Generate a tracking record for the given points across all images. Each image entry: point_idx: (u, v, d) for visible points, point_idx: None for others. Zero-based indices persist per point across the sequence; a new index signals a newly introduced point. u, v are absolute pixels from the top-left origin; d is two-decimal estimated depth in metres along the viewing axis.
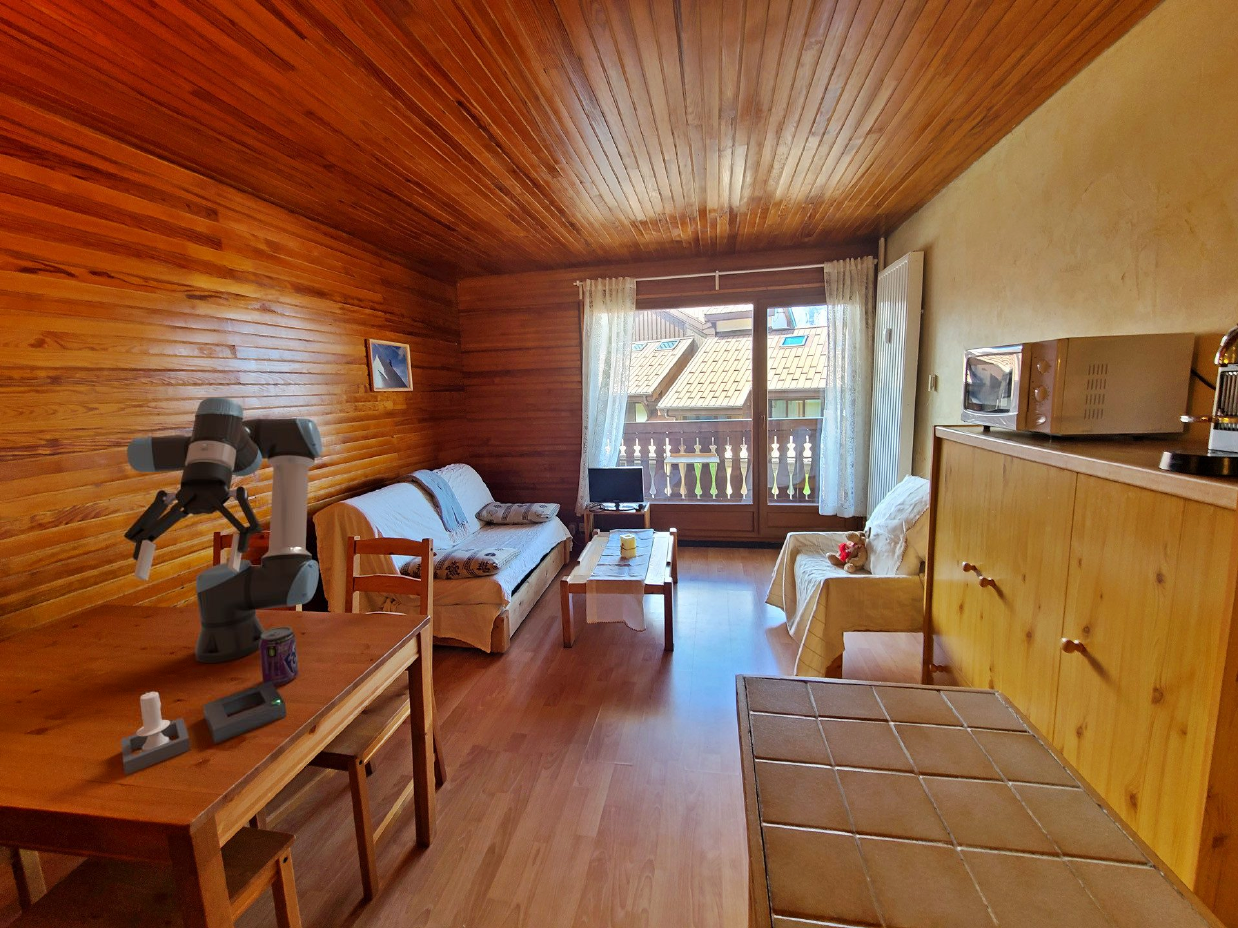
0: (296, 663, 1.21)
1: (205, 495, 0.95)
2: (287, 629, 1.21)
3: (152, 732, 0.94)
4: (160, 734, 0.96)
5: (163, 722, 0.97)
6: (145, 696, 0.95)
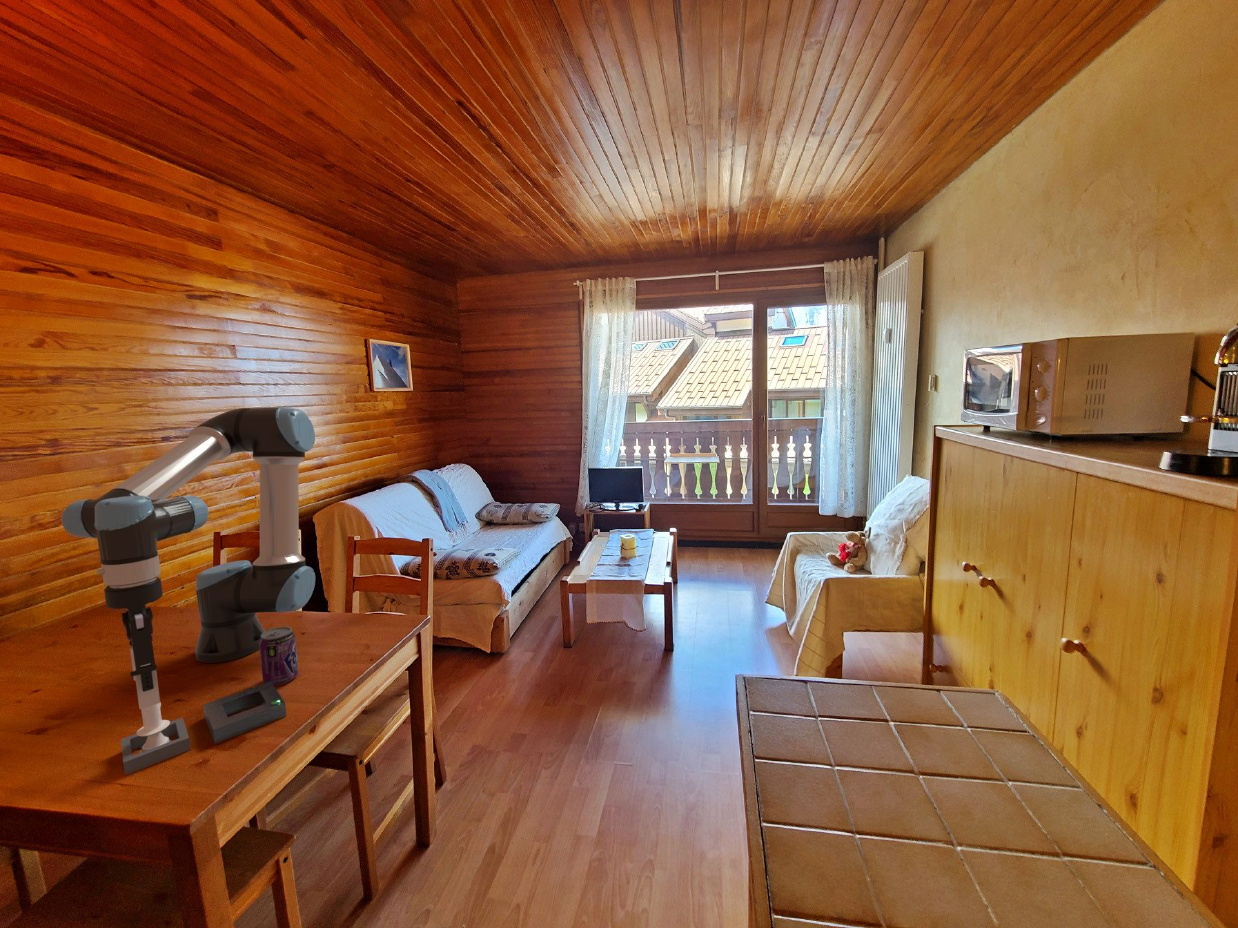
0: (296, 663, 1.21)
1: None
2: (287, 629, 1.21)
3: (152, 732, 0.94)
4: (160, 734, 0.96)
5: (163, 722, 0.97)
6: None
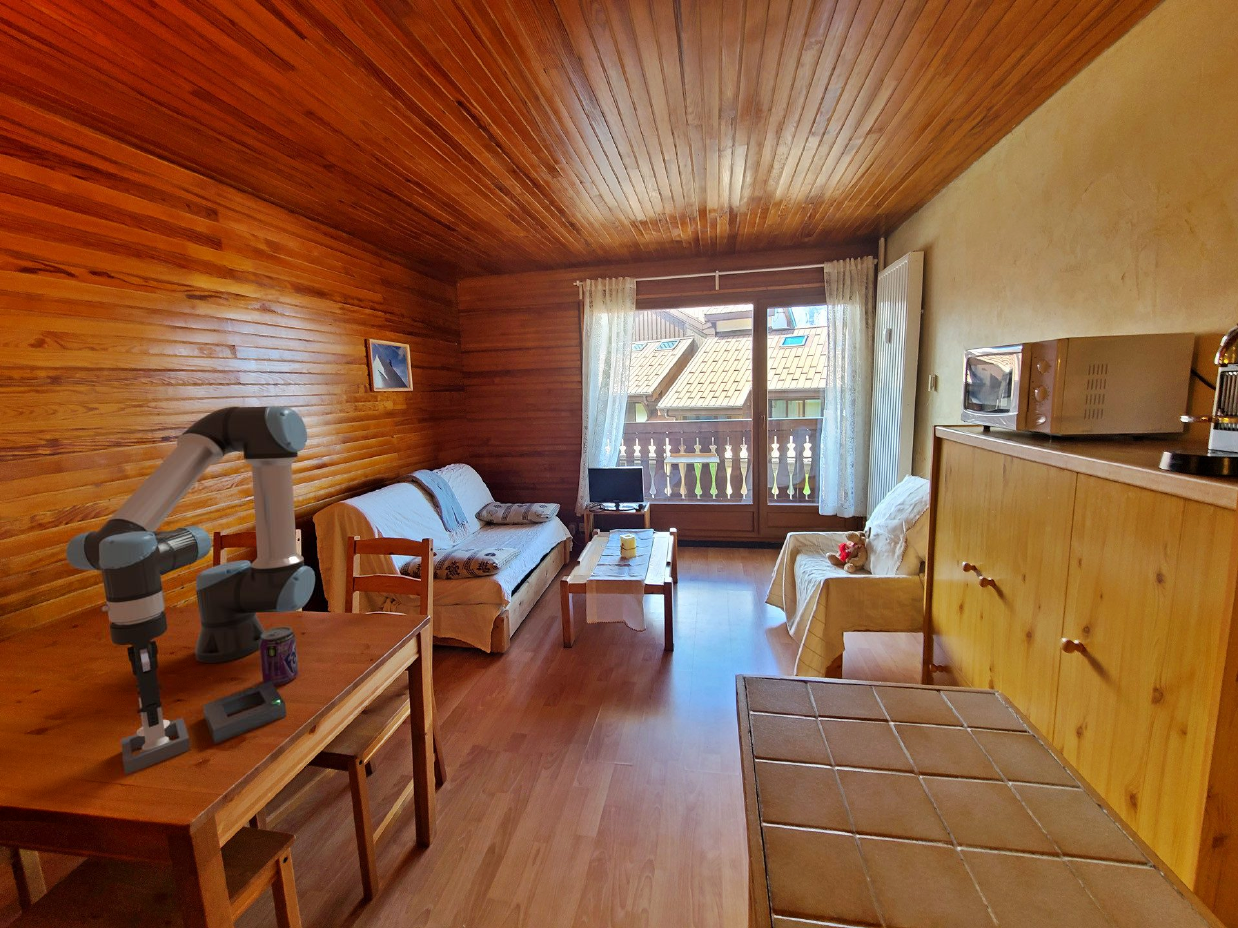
0: (296, 663, 1.21)
1: None
2: (287, 629, 1.21)
3: None
4: None
5: (163, 722, 0.97)
6: None
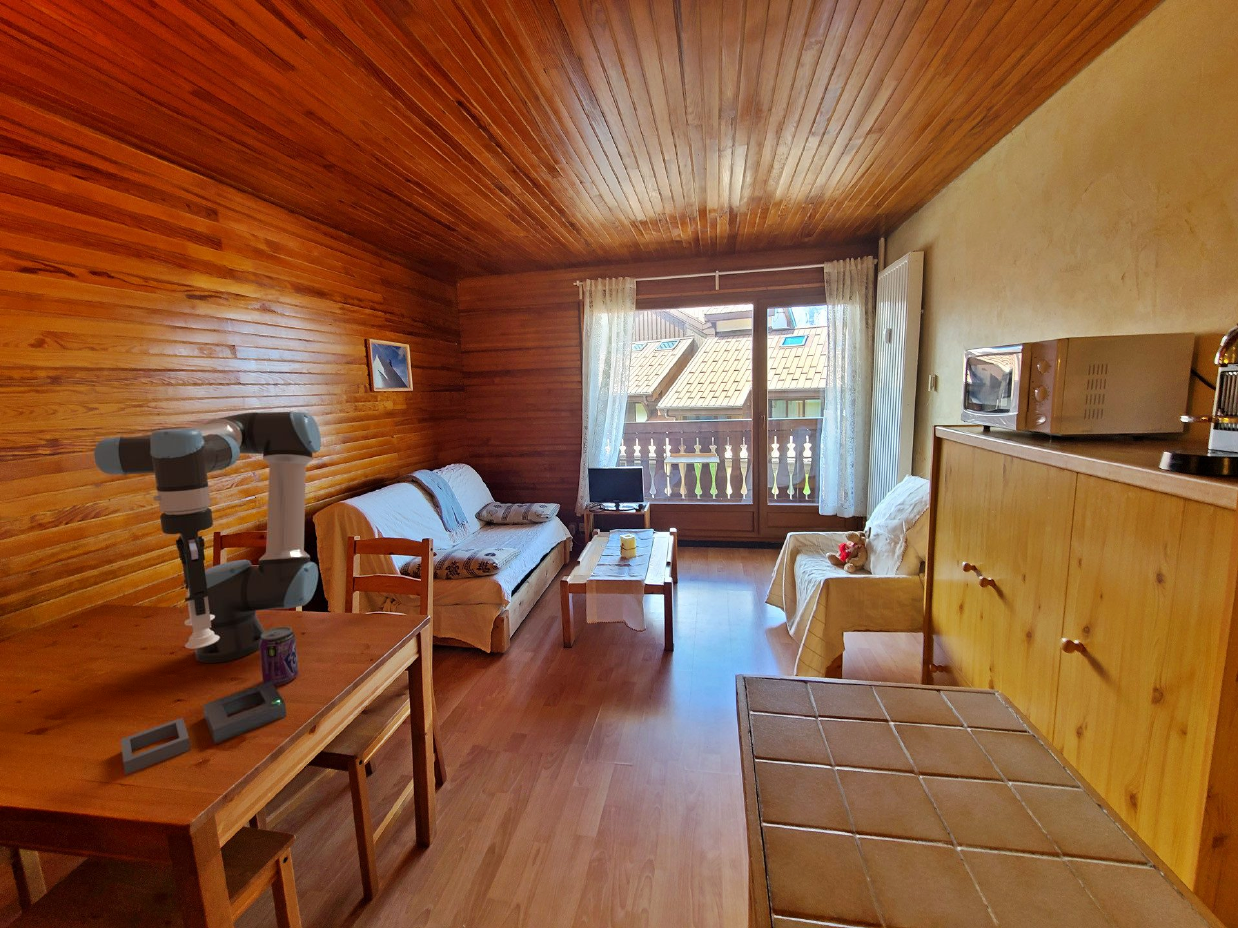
0: (296, 663, 1.21)
1: (177, 546, 0.95)
2: (287, 629, 1.21)
3: None
4: None
5: None
6: None
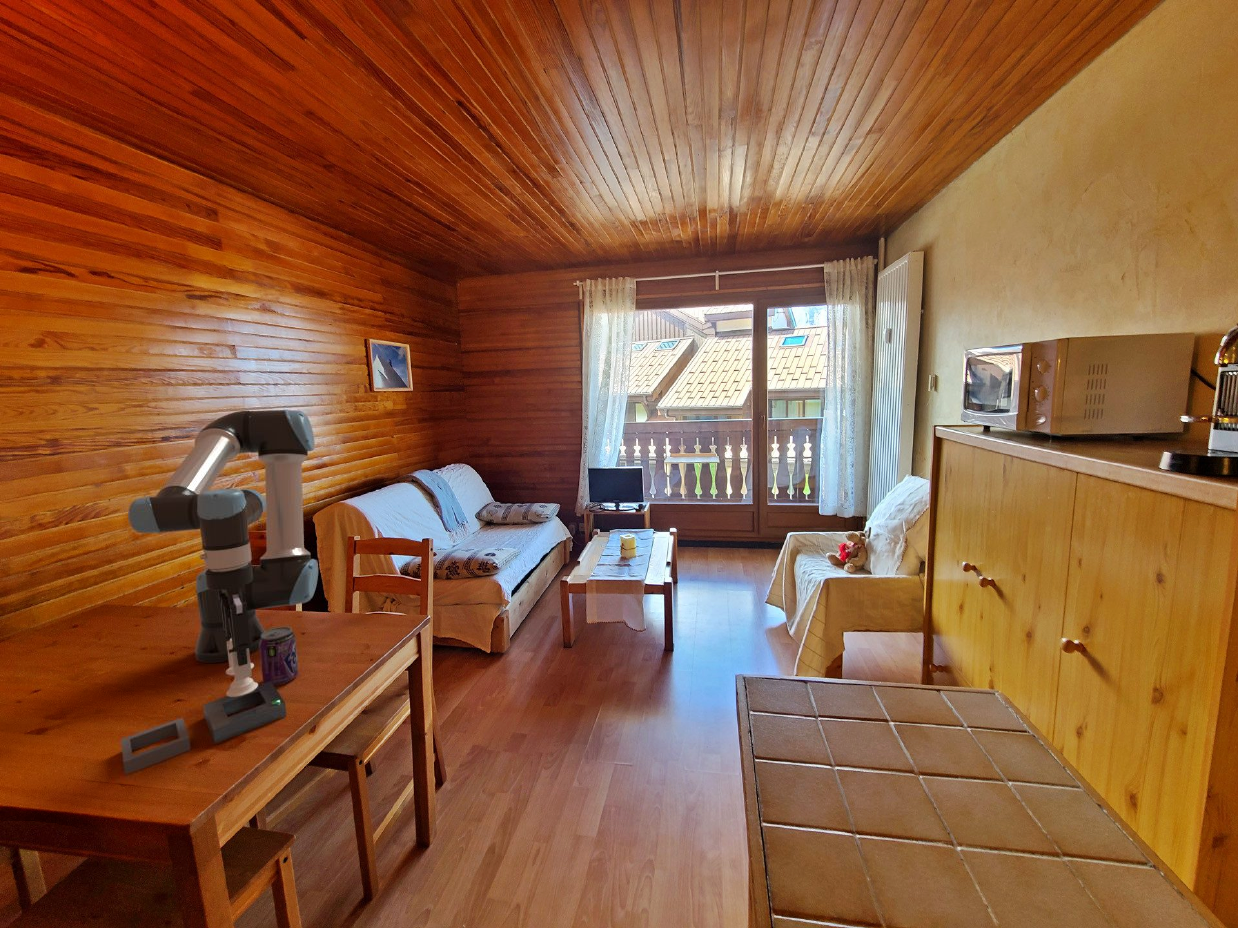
0: (296, 663, 1.21)
1: (221, 601, 1.01)
2: (287, 629, 1.21)
3: None
4: None
5: None
6: None
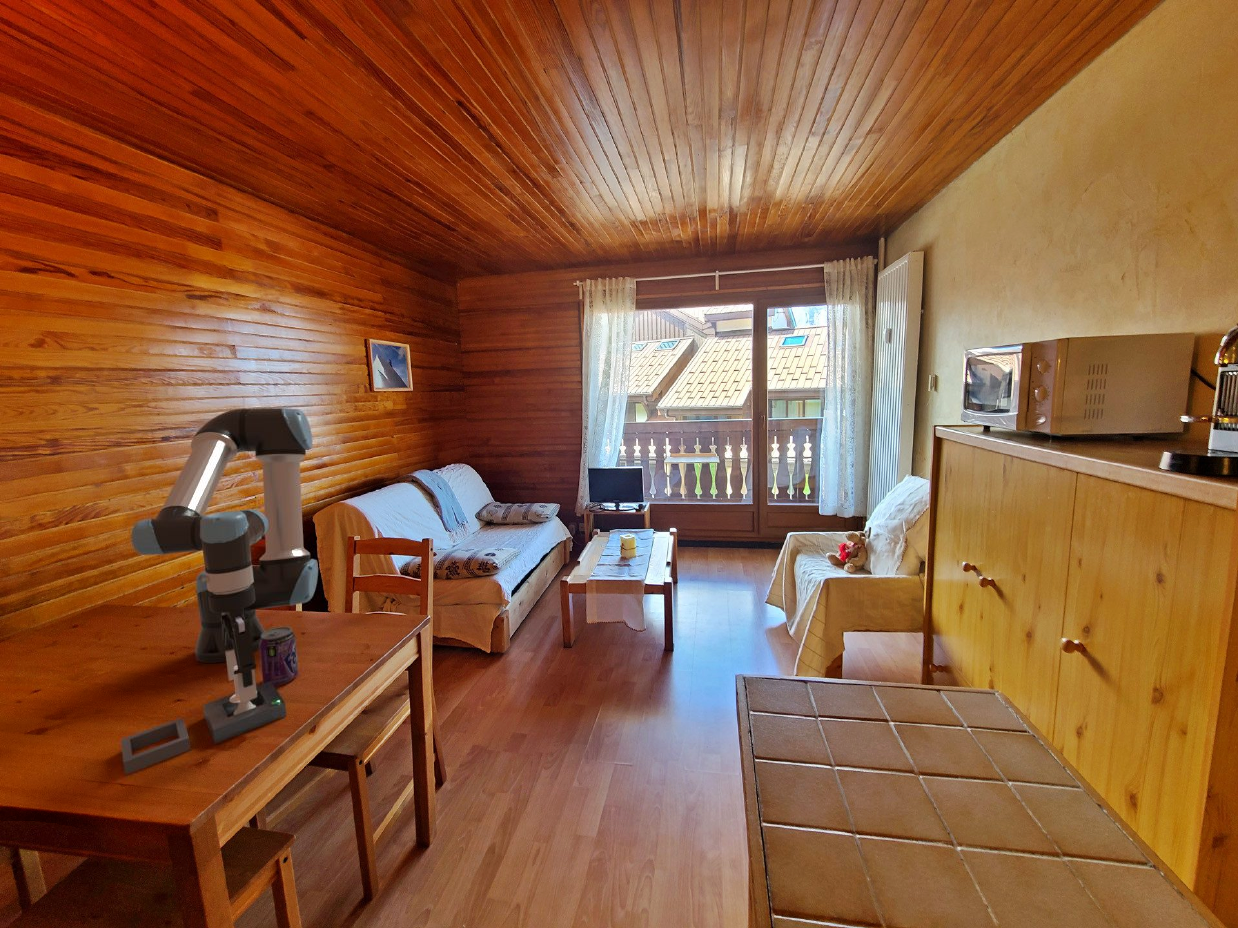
0: (296, 663, 1.21)
1: (223, 624, 1.02)
2: (287, 629, 1.21)
3: None
4: (249, 702, 1.06)
5: None
6: (237, 667, 1.05)
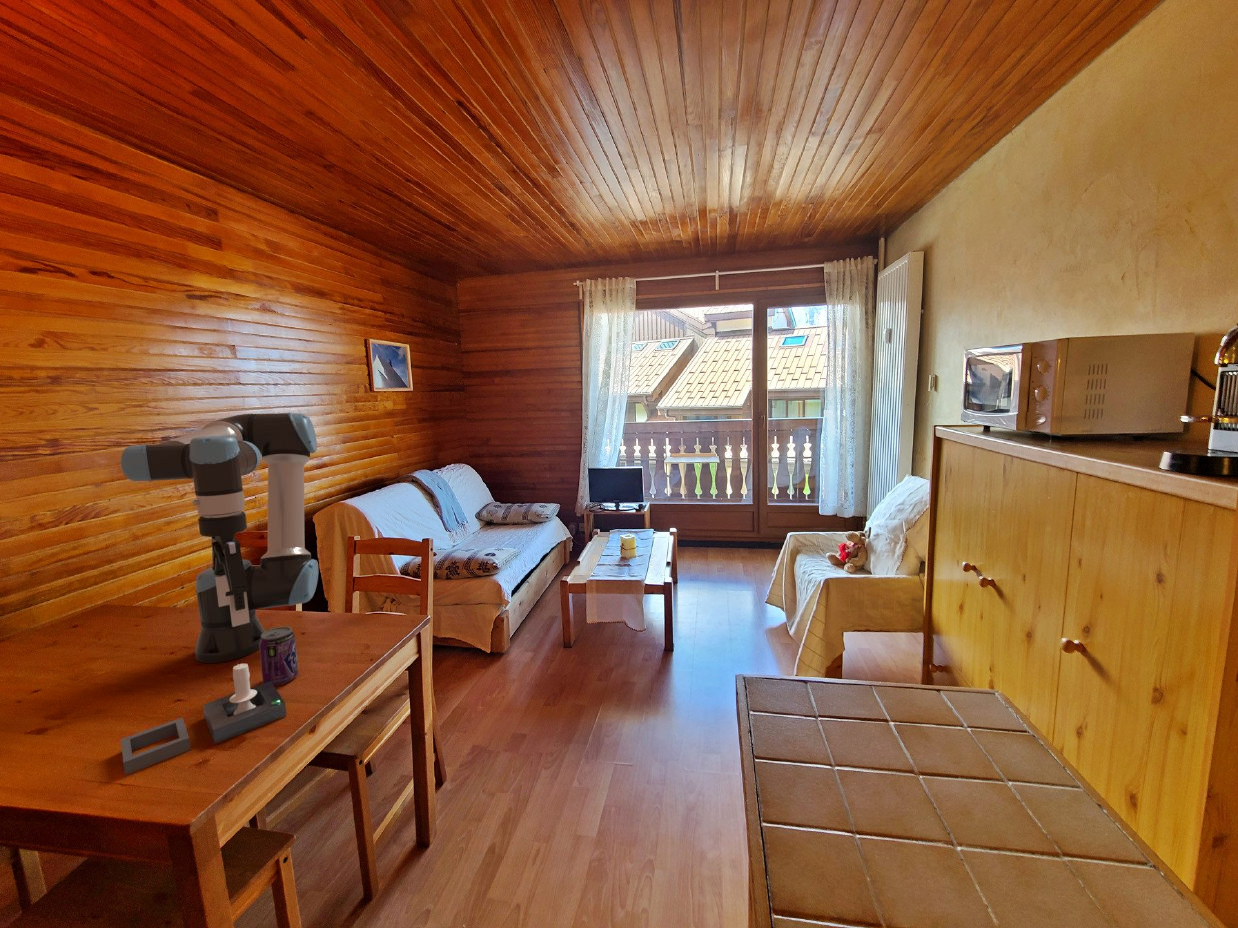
0: (296, 663, 1.21)
1: (214, 549, 1.00)
2: (287, 629, 1.21)
3: (243, 699, 1.04)
4: (249, 702, 1.06)
5: (251, 691, 1.07)
6: (237, 667, 1.05)
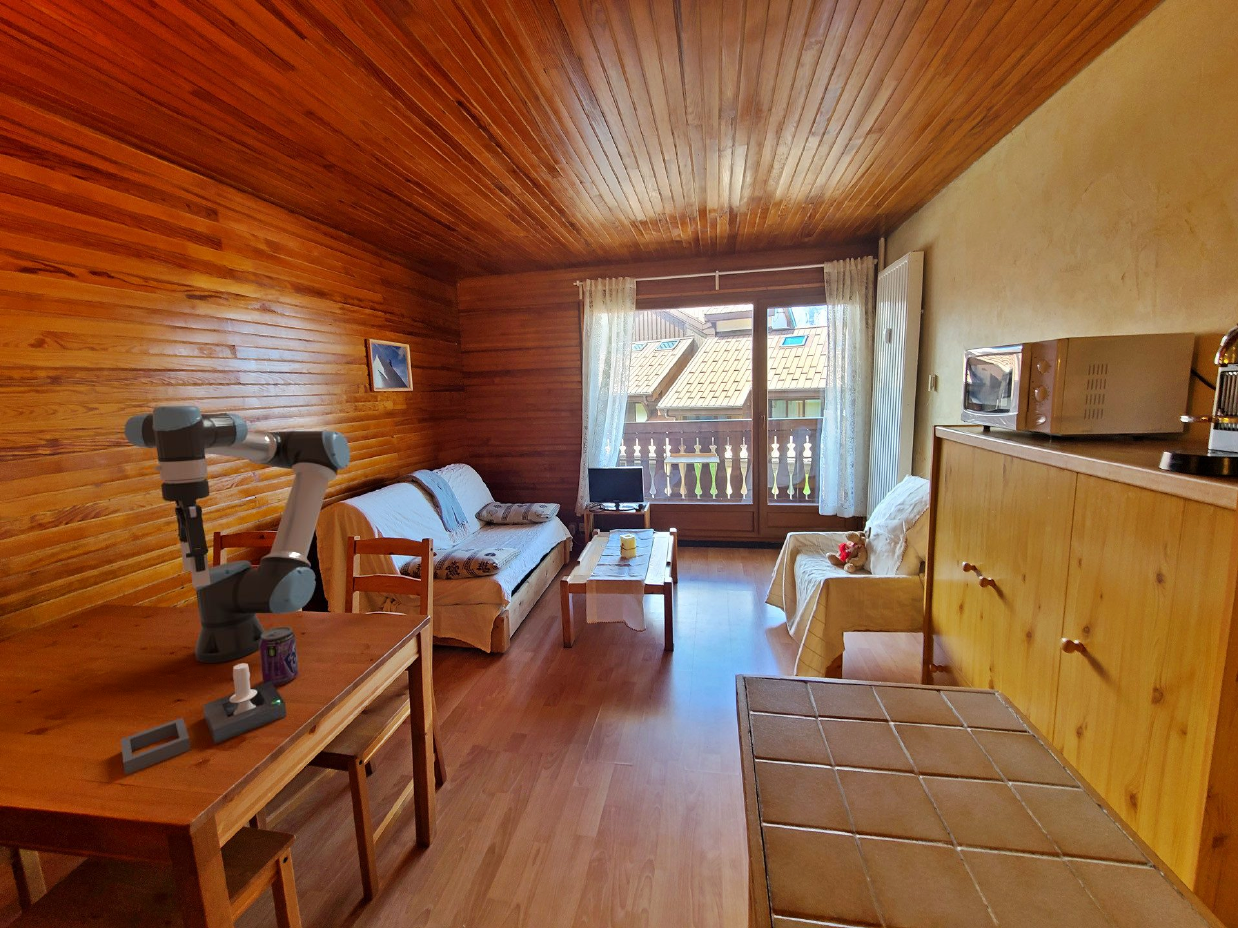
0: (296, 663, 1.21)
1: (177, 514, 1.04)
2: (287, 629, 1.21)
3: (243, 699, 1.04)
4: (249, 702, 1.06)
5: (251, 691, 1.07)
6: (237, 667, 1.05)
